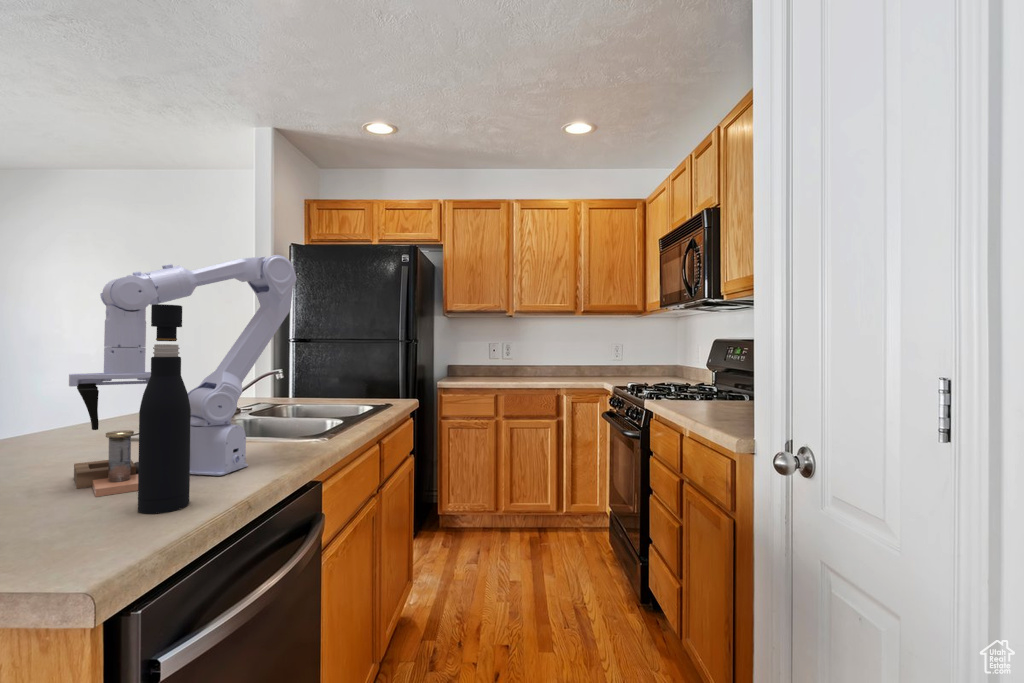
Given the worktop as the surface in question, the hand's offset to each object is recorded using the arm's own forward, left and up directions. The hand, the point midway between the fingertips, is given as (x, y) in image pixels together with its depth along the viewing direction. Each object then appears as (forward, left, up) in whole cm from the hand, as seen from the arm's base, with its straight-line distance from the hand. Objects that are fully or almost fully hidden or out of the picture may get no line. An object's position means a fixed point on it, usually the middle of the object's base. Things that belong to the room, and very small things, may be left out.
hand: (123, 427), depth 90 cm
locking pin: (-1, +2, -9) cm, 9 cm away
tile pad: (-2, +2, -10) cm, 10 cm away
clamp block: (+5, -3, -10) cm, 11 cm away
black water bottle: (-16, +9, -10) cm, 21 cm away
